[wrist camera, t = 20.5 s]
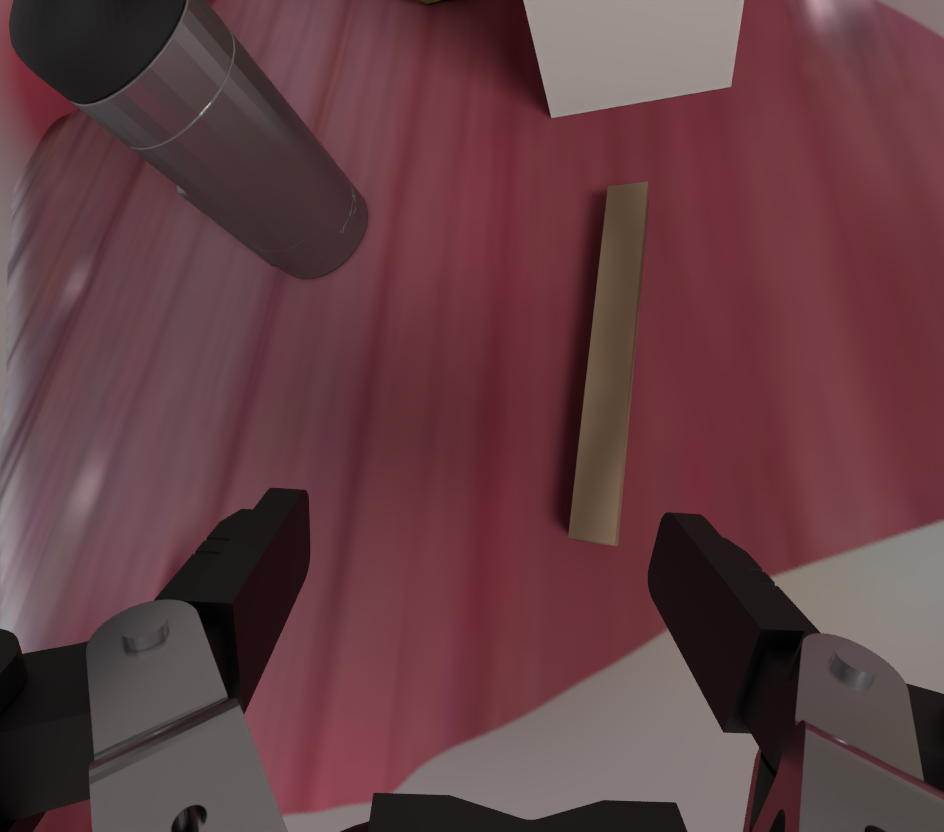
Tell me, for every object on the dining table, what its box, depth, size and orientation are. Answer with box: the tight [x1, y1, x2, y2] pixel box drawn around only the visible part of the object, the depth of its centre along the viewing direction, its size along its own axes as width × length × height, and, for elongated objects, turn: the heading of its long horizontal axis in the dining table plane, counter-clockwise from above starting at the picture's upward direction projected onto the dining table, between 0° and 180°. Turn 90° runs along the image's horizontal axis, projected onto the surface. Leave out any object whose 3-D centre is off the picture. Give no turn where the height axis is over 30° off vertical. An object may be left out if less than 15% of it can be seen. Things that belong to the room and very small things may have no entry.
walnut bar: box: [568, 182, 649, 547], centre depth 29 cm, size 2×22×2 cm, turn 170°
